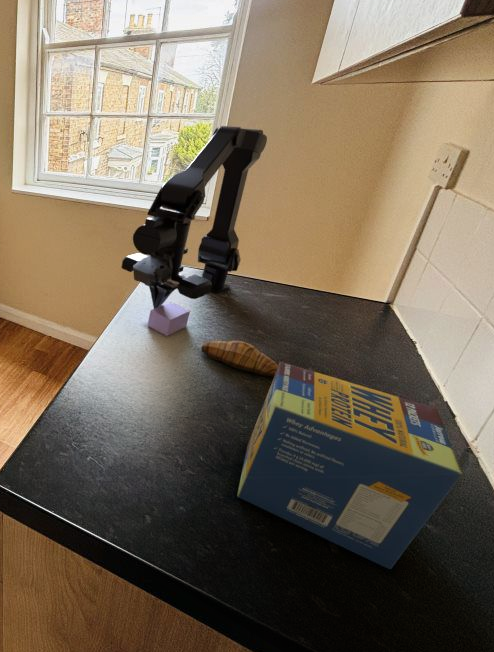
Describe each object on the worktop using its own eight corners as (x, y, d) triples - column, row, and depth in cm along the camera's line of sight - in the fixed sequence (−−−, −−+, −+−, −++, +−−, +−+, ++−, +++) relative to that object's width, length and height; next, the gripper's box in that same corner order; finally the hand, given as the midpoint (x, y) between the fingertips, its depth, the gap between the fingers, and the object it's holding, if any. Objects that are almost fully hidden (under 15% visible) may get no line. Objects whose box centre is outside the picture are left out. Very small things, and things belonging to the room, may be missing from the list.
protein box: (245, 445, 59) (278, 359, 52) (381, 501, 51) (442, 408, 44) (235, 498, 52) (272, 405, 45) (393, 573, 44) (468, 474, 37)
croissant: (195, 359, 78) (201, 337, 76) (204, 344, 83) (209, 323, 81) (276, 388, 71) (285, 365, 69) (280, 369, 76) (289, 347, 73)
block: (166, 317, 93) (170, 301, 91) (186, 326, 89) (190, 310, 87) (147, 325, 89) (150, 310, 88) (166, 336, 86) (170, 319, 84)
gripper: (109, 237, 86) (100, 301, 93) (188, 266, 73) (170, 338, 80) (143, 228, 92) (132, 289, 99) (222, 254, 78) (202, 323, 85)
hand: (156, 308), depth 90 cm, fingers closed
